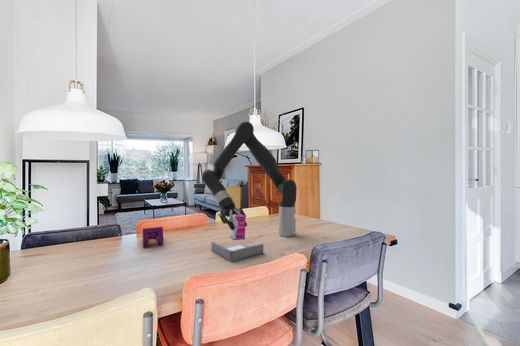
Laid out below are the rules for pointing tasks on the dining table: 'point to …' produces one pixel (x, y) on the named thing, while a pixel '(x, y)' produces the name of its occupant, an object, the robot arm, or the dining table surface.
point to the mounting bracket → (153, 235)
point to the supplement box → (238, 227)
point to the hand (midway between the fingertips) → (239, 227)
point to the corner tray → (236, 251)
